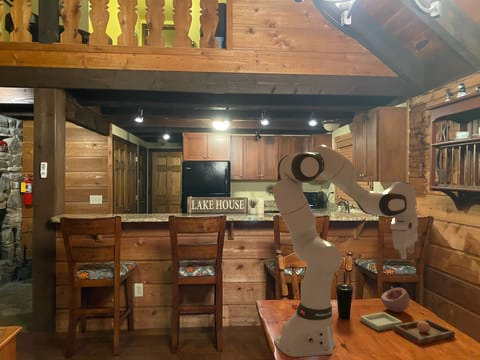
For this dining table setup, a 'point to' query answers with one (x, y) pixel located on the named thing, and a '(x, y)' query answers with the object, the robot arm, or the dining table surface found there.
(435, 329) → the dish
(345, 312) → the drinking cup
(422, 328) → the ball
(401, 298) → the mortar and pestle
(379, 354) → the dining table surface
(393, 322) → the tray
